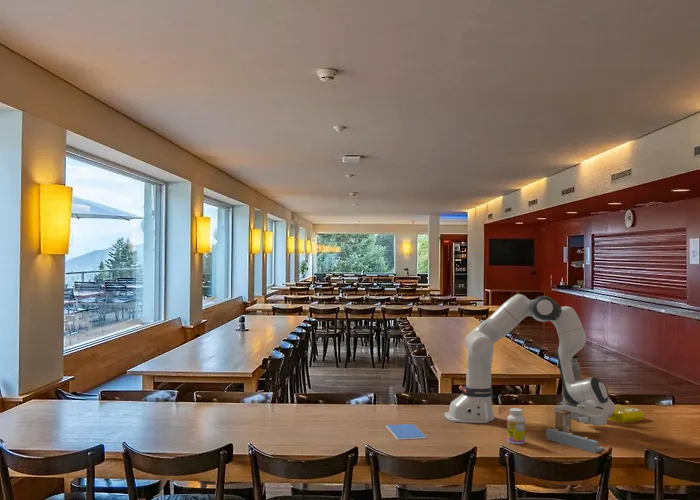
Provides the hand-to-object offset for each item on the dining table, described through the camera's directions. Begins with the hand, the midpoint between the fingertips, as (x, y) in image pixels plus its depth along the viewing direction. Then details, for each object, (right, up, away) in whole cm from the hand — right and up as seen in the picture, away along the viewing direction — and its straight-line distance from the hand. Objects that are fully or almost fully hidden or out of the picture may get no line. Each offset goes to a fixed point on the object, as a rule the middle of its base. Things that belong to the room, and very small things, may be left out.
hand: (567, 417), depth 230 cm
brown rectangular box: (-3, -8, -2) cm, 9 cm away
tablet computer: (-65, -8, +5) cm, 66 cm away
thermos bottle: (+15, -9, +33) cm, 38 cm away
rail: (-1, -8, -8) cm, 12 cm away
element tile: (+37, -10, +32) cm, 50 cm away
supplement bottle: (-23, -8, -7) cm, 25 cm away
